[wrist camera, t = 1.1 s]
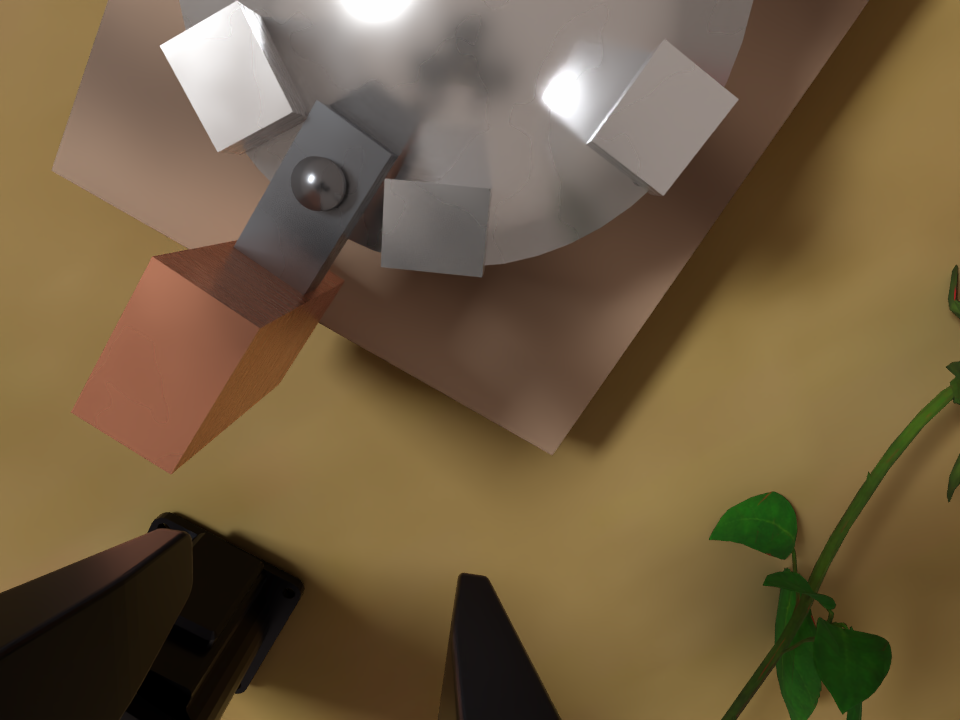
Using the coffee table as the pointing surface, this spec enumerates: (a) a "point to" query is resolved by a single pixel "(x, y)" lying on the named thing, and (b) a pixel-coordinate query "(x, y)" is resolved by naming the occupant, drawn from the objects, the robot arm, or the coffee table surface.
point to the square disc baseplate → (437, 296)
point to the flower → (798, 641)
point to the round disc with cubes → (397, 169)
